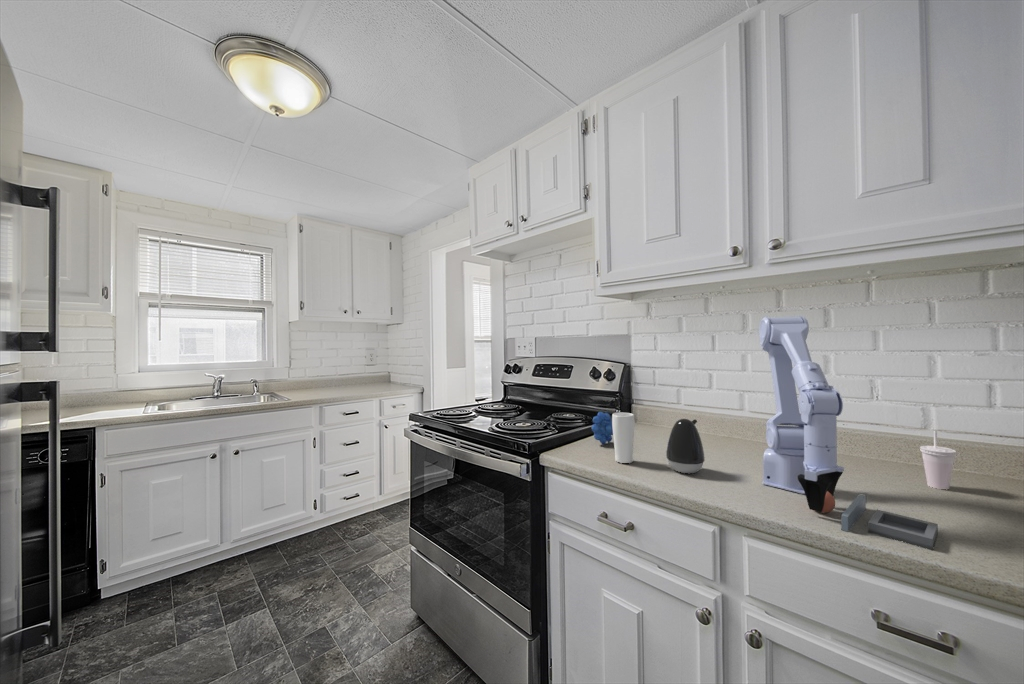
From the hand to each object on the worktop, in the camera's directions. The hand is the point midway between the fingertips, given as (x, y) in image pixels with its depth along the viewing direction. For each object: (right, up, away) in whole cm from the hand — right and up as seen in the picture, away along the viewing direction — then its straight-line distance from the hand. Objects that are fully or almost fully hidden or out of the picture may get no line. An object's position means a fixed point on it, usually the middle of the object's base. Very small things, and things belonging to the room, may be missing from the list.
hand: (820, 505), depth 88 cm
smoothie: (+39, -1, +12) cm, 41 cm away
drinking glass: (-33, -2, +38) cm, 50 cm away
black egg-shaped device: (-18, -2, +28) cm, 33 cm away
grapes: (-34, -2, +58) cm, 67 cm away
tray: (+8, -1, -10) cm, 13 cm away
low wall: (+4, -1, -4) cm, 6 cm away
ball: (0, +1, 0) cm, 1 cm away
